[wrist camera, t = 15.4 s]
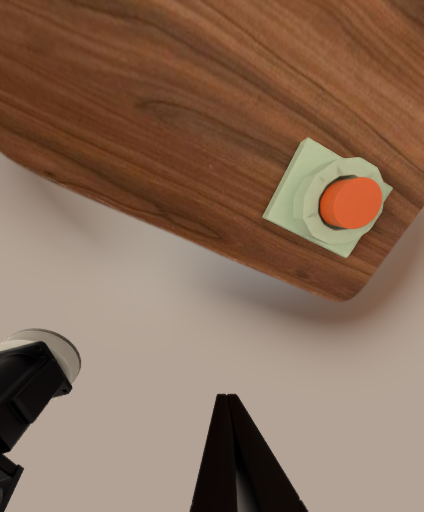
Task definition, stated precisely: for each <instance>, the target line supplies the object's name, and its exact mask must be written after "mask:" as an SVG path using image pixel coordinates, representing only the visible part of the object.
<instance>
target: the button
mask: <svg viewBox="0 0 424 512" xmlns="http://www.w3.org/2000/svg"><path fill="white" fill-rule="evenodd" d="M381 204H382V192H381V189H380V187H379V185H378V184H377V183H376V182H375V181H374V180H372V179H370V178H367V177H358V178H351V179H344V180H339V181H337V182H335V183H333V184H332V185H330V186H329V187H328V188H327V189H326V191H325V192H324V193H323V195H322V198H321V201H320V213H321V216H322V218H323V219H324V221H325V222H327V223H328V224H330V225H332V226H337V227H342V228H347V229H357V228H361V227H363V226H365V225H367V224H368V223H370V222H371V221H372V220H373V219H374V218H375V216H376V215H377V214H378V212H379V210H380V207H381Z"/></svg>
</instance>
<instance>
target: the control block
mask: <svg viewBox="0 0 424 512" xmlns="http://www.w3.org/2000/svg"><path fill="white" fill-rule="evenodd" d="M358 177H367V178H370V179H372V180H374V181H375V182H376V183H377V184H378V185H379V187H380V189H381V192H382V204H381V207H380V210H379V212H378V214H377V215H376V216H375V218H374V219H373V220H372V221H371V222H370V223H368V224H367V225H365V226H363V227H361V228H357V229H347V228H342V227H337V226H332V225H330V224H328V223H327V222H325V221H324V219H323V218H322V216H321V213H320V201H321V198H322V195H323V193H324V192H325V191H326V189H327V188H328V187H329V186H330V185H332V184H333V183H335V182H337V181H339V180H344V179H351V178H358ZM392 189H393V188H392V187H391V186H389V185H387V184H386V183H384V182H383V180H382V177H381V175H380V172H379V170H378V168H377V167H375V166H374V165H372V164H370V163H369V162H367V161H365V160H364V159H362V158H360V157H356V158H345V159H344V158H342V157H340V156H339V155H337V154H335V153H334V152H332V151H330V150H329V149H327V148H325V147H324V146H322V145H320V144H319V143H317V142H315V141H314V140H312V139H310V138H307V139H305V140H303V141H301V143H300V145H299V147H298V149H297V150H296V152H295V154H294V156H293V158H292V160H291V162H290V164H289V166H288V168H287V170H286V172H285V174H284V176H283V178H282V180H281V182H280V183H279V185H278V187H277V189H276V191H275V193H274V195H273V197H272V199H271V201H270V203H269V205H268V207H267V209H266V211H265V213H264V214H263V216H262V218H264V219H266V220H268V221H270V222H272V223H274V224H276V225H278V226H280V227H282V228H284V229H286V230H288V231H290V232H293V233H295V234H297V235H299V236H301V237H303V238H305V239H307V240H309V241H311V242H313V243H315V244H317V245H319V246H321V247H323V248H325V249H327V250H329V251H331V252H334V253H336V254H338V255H340V256H343V257H345V258H347V257H348V256H349V254H350V253H351V251H352V250H353V248H354V247H355V245H356V244H357V242H358V240H359V239H360V237H361V236H362V235H363V234H365V233H366V232H368V231H369V230H370V229H371V227H372V226H373V224H374V223H375V221H376V220H377V218H378V217H379V215H380V214H381V212H382V209H383V203H384V201H385V199H386V198H387V196H388V195H389V193H390V192H391V190H392Z"/></svg>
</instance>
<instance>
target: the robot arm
mask: <svg viewBox="0 0 424 512" xmlns="http://www.w3.org/2000/svg"><path fill="white" fill-rule="evenodd" d="M71 390H72V385H71V383H70V382H69V380H68V379H67V377H66V375H65V374H64V372H63V370H62V369H61V367H60V365H59V364H58V362H57V361H56V359H55V357H54V356H53V354H52V352H51V351H50V349H49V347H48V346H47V344H46V343H45V342H43V341H38V342H34V343H30V344H26V345H22V346H18V347H15V348H11V349H7V350H3V351H0V512H4V511H5V508H6V507H7V504H8V502H9V500H10V498H11V496H12V494H13V491H14V489H15V487H16V485H17V483H18V481H19V479H20V477H21V474H22V472H23V470H24V468H23V467H21V466H20V465H16V464H15V463H13V462H12V461H11V460H10V459H8V458H7V457H6V456H5V455H3V454H4V453H6V452H10V451H11V449H12V448H13V447H14V445H15V444H16V443H17V441H18V440H19V439H20V437H21V436H22V435H23V433H24V432H25V431H26V430H27V428H28V427H29V426H30V424H31V423H33V422H34V421H35V420H36V419H37V417H38V416H39V415H40V413H41V412H42V411H43V409H44V408H45V407H46V405H47V404H48V403H49V401H50V400H51V399H52V398H54V397H58V396H62V395H66V394H69V392H70V391H71ZM190 512H308V510H307V509H306V507H305V505H304V504H303V502H302V501H301V500H300V498H299V496H298V494H297V492H296V491H295V489H294V487H293V486H292V484H291V482H290V481H289V479H288V477H287V476H286V474H285V473H284V471H283V469H282V468H281V466H280V464H279V463H278V461H277V459H276V458H275V456H274V454H273V453H272V451H271V449H270V448H269V446H268V445H267V443H266V441H265V440H264V438H263V436H262V435H261V433H260V432H259V430H258V428H257V427H256V425H255V423H254V422H253V420H252V419H251V417H250V415H249V413H248V412H247V411H246V408H245V407H244V406H243V404H242V402H241V400H240V399H239V397H238V396H237V395H236V394H228V395H226V394H217V396H216V401H215V405H214V409H213V414H212V418H211V422H210V426H209V431H208V435H207V440H206V444H205V448H204V452H203V457H202V461H201V465H200V470H199V474H198V478H197V482H196V487H195V491H194V495H193V500H192V505H191V508H190Z"/></svg>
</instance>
